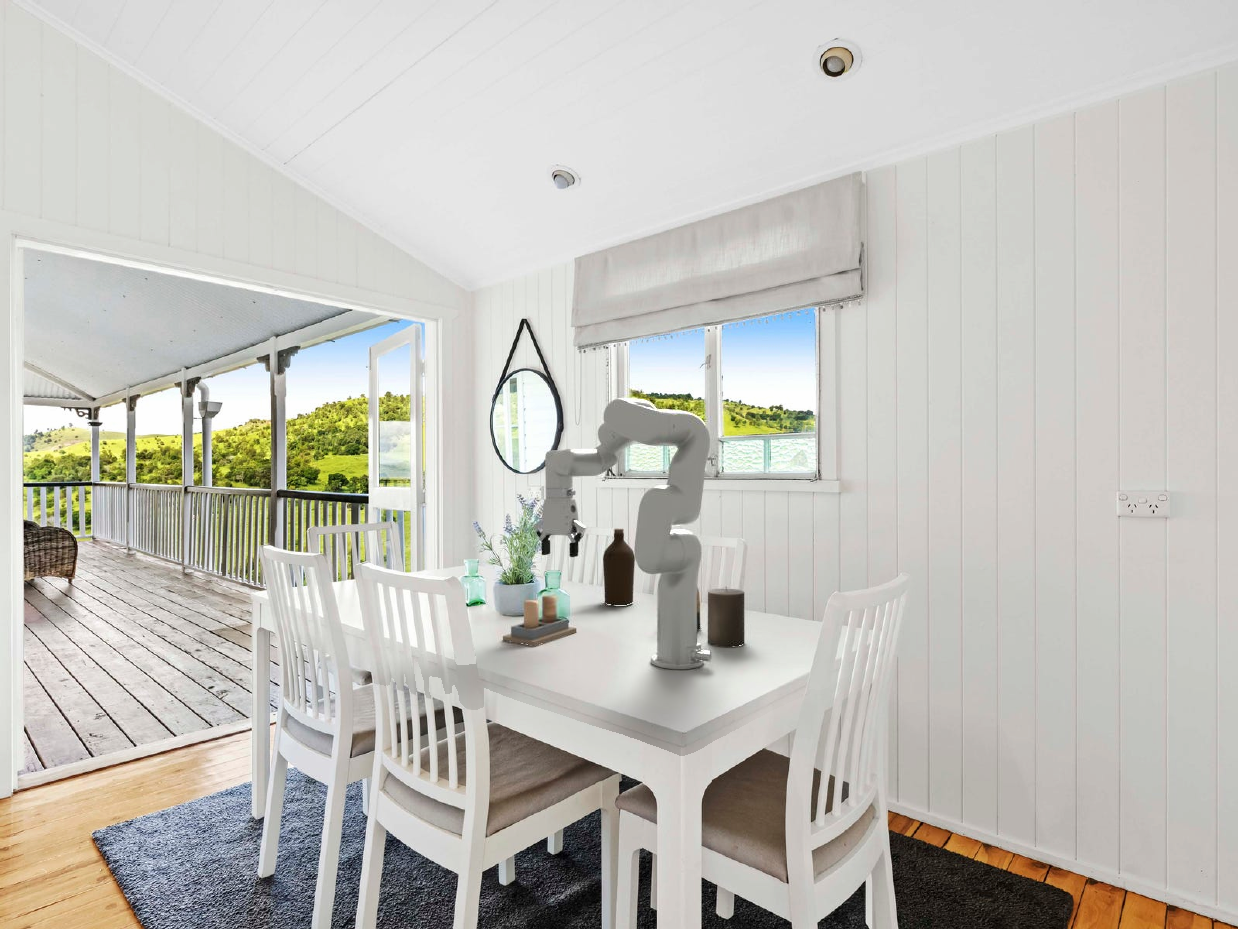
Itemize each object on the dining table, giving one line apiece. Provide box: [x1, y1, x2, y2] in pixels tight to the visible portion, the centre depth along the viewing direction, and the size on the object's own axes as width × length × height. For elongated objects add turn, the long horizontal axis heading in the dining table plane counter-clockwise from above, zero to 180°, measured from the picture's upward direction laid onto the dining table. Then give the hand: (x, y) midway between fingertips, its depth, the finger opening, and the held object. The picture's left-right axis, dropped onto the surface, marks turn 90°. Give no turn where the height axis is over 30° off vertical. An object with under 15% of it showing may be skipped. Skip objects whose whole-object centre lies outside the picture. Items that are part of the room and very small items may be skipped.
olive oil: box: [602, 528, 636, 605], centre depth 238 cm, size 11×11×25 cm
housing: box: [502, 599, 577, 647], centre depth 195 cm, size 11×18×10 cm, turn 146°
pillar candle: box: [707, 586, 746, 648], centre depth 188 cm, size 10×10×15 cm
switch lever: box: [541, 595, 558, 623], centre depth 198 cm, size 4×4×9 cm
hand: (559, 555), depth 199 cm, fingers open, 9 cm apart
